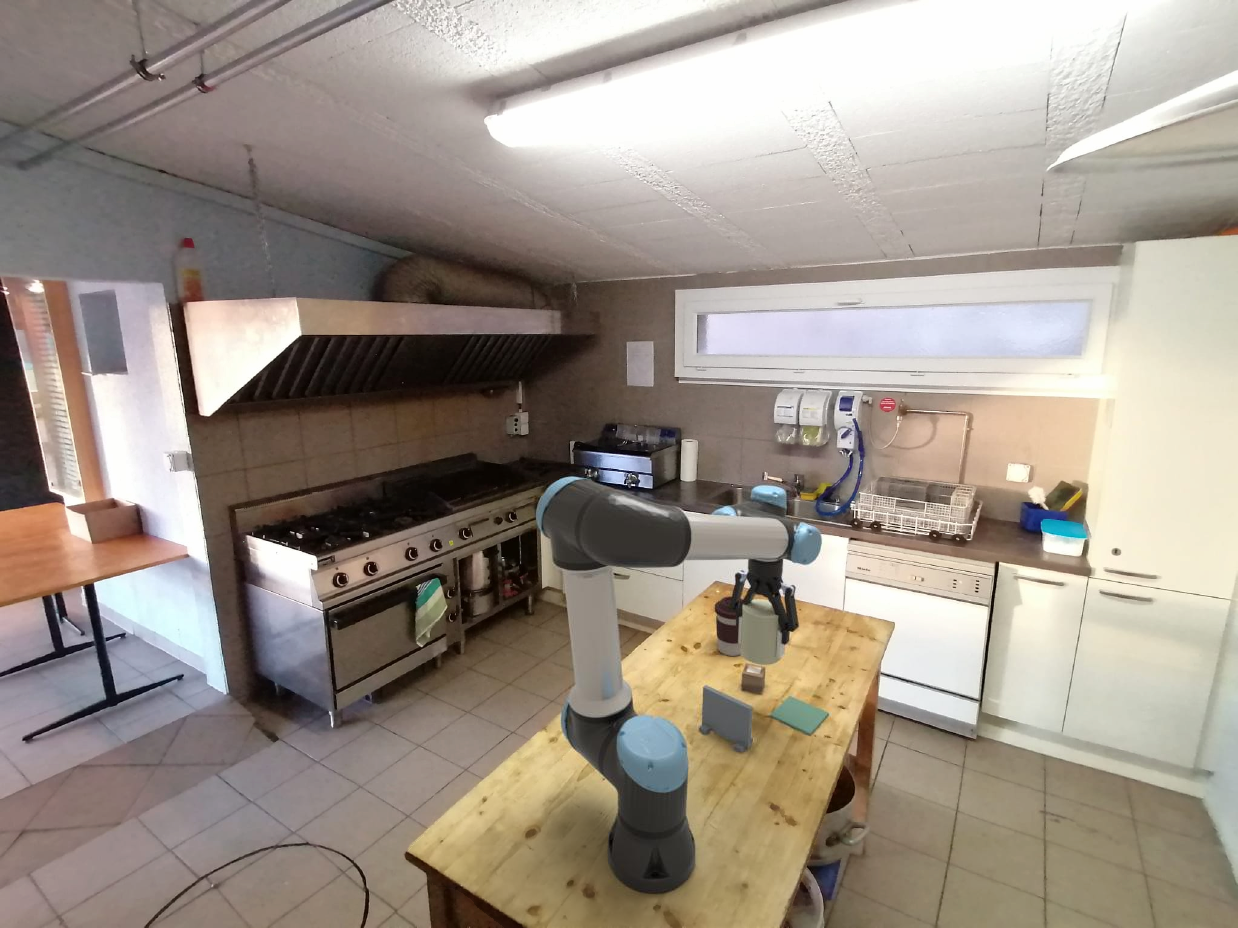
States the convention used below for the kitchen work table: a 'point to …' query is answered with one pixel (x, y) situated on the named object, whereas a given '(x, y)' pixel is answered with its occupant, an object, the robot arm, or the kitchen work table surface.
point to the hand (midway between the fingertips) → (761, 648)
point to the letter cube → (753, 678)
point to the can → (759, 632)
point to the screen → (727, 718)
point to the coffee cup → (727, 628)
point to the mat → (799, 715)
